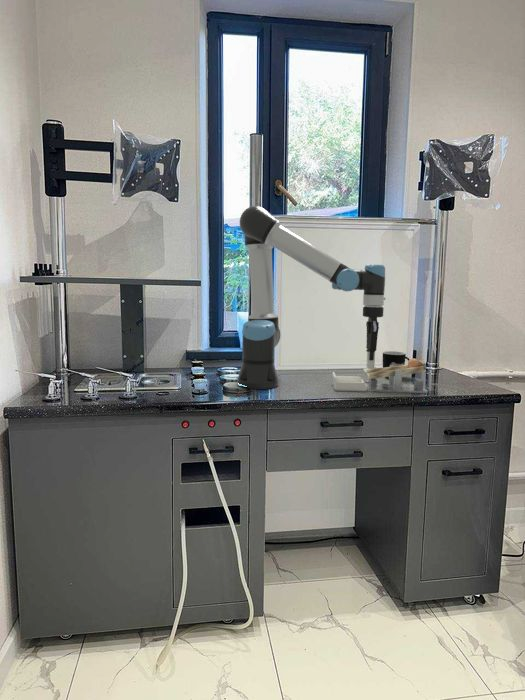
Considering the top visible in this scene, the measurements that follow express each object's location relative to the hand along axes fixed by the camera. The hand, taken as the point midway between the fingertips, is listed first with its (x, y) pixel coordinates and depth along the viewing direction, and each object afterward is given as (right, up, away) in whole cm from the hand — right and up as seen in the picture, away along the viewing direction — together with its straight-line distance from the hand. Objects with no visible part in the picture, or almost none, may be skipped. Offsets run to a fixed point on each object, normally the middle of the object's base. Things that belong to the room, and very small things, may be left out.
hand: (370, 368), depth 194 cm
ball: (+13, +2, -10) cm, 17 cm away
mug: (+13, -4, +12) cm, 18 cm away
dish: (-10, -7, -8) cm, 14 cm away
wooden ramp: (+8, -2, -5) cm, 9 cm away
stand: (+7, -7, -8) cm, 13 cm away
